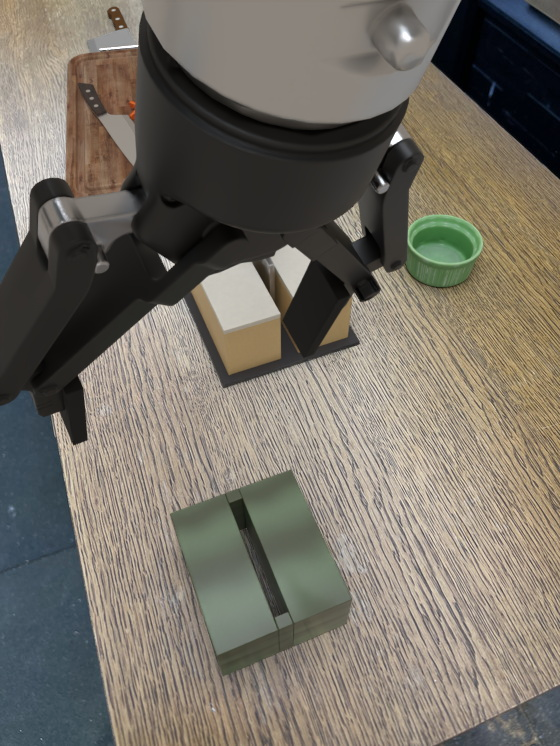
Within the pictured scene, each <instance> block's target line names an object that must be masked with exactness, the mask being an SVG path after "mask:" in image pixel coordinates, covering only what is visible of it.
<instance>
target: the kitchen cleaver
mask: <svg viewBox="0 0 560 746" xmlns="http://www.w3.org/2000/svg"><path fill="white" fill-rule="evenodd" d="M106 13H107V17H108V18H110V19H111V22H112V24H113V27H114V30H113V31H110V32H108V33H105V34H102V35H99V36H96V37H93V38H89V39H87V40H86V44H87V48H88V50H89V53H93V52H100V50H99V48H102V47H113V46H123V45H134V44H138V42H137V41H136V40H135V39H134V37H133V35H132V33H131V32H130V30H129V26H128V25H127V22H126V21H125V19H124V18H125V17H124V16H123V13H122V12H121V9H120V8H119V7H118V6H111V7H109V8H108V9H107V10H106Z"/></svg>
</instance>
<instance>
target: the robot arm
mask: <svg viewBox="0 0 560 746" xmlns="http://www.w3.org/2000/svg"><path fill="white" fill-rule="evenodd" d="M140 2H141V5H142V13H141V16H140V20H139V24H138V41H137V44H138V59H137V79H136V99H135V143H136V161H135V164H134V166H133V168H132V170H131V172H130V173H129V175H128V176H127V177H126V179H125V180H124V182H123V184H122V186H121V189H120V191H118V192H112V193H105V194H98V195H92V196H85V197H79V198H75V197H74V195H73V193H72V191H71V189H70V187H69V184H68V183H67V182H66V181H65V179H63V178H61V177H48V178H44V179H43V178H42V179H41V180H39V181H38V182H36V183H35V184H34V185H33V186H32V187H31V189H30V192H29V205H28V206H29V207H28V208H29V209H28V210H29V211H28V213H29V214H28V225H29V226H28V232H27V234H26V235H25V236H24V239H23V240H22V243H21V244H20V246H19V248H18V250H17V252H16V254H15V255H14V258H13V259H12V261H11V263H10V265H9V267H8V268H7V270H6V273H5V274H4V276H3V278H2V280H1V281H0V407H1V406H5V405H8V404H10V403H11V402H13V401H15V400H16V399H17V398H18V397H19V394H20V393H21V392H22V391H23V392H24V391H26V392H29V395H30V398H31V400H32V403H33V406H34V407H35V410H36V413H37V415H38V416H40V417H42V418H46V417H48V416H51V415H54V414H56V413H57V414H58V413H59V414H60V417H61V420H62V422H63V424H64V427H65V429H66V431H67V434H68V437H69V439H70V442H71V444H72V446H77V445H79V444H81V443H82V444H83V443H85V442H87V441H89V437H88V435H89V434H88V426H87V425H88V424H87V413H86V401H85V389H84V386H83V383H82V381H81V379H80V377H79V375H80V374H81V373H83V371H84V370H85V369H87V368H88V367H89V366H90V365H91V364H92V363H94V362H95V361H96V360H97V359H98V358H99V357H101V355H103V354H104V353H105V352H106V351H107V350H108V349H110V347H112V346H113V345H114V344H115V343H116V342H117V341H118V340H120V339H121V338H122V337H123V336H124V335H126V333H128V332H129V331H130V330H131V329H132V328H133V327H134V326H135V325H136V324H138V323H139V322H140V321H141V320H142V319H143V318H144V317H145V316H146V315H148V314H149V313H150V312H151V311H152V310H154V309H155V308H156V307H157V306H158V305H159V306H166V307H174V306H175V305H177V304H178V303H179V302H180V301H182V300H183V299H184V297H185V296H186V295H187V294H188V293H190V292H191V291H192V290H193V289H194V288H195V287H196V286H198V285H199V284H200V283H201V282H202V281H203V280H204V279H206V278H207V277H208V276H210V275H213V274H216V273H219V272H222V271H224V270H227V269H229V268H231V267H233V266H236V265H238V264H240V263H247V262H254V261H259V260H263V259H266V258H269V257H273V256H274V255H275V253H276V251H277V250H279V249H281V248H283V247H285V246H286V245H289V246H290V247H291V248H294V247H295V248H296V249H298V250H299V251H300V252H301V253H303V254H304V255H305V256H306V257H307V258H309V259H310V260H311V261H310V263H309V265H308V267H307V269H306V272H305V274H304V276H303V278H302V280H301V282H300V284H299V286H298V288H297V291H296V293H295V295H294V297H293V299H292V301H291V303H290V305H289V307H288V309H287V312H286V314H285V316H284V318H283V320H282V321H283V322H284V324H285V326H286V328H287V330H288V331H289V333H290V335H291V337H292V339H293V340H294V342H295V344H296V346H297V348H298V349H299V351H300V353H301V355H302V357H303V358H306V357H308V356H311V355H314V354H315V352H316V351H317V349H318V347H319V346H320V344H321V343H322V341H323V339H324V338H325V336H326V335H327V333H328V331H329V330H330V328H331V326H332V325H333V323H334V322H335V320H336V318H337V317H338V315H339V314H340V312H341V310H342V309H343V308H344V307H345V306H346V305H347V303H348V301H349V299H350V298H351V297H352V298H353V295H355V297H356V298H357V299H358V301H359V302H360V303H365V302H368V301H370V300H373V298H375V297H376V296H378V294H380V292H381V291H382V287H381V286H380V285H379V283H378V281H377V279H376V278H375V276H374V274H373V272H375V271H377V270H379V269H381V268H382V267H383V269H384V271H385V272H386V274H389V273H394V272H395V271H398V270H400V269H401V268H403V267H404V266H405V265H406V261H407V247H408V228H409V209H410V208H409V207H410V189H411V187H412V185H413V183H414V181H415V179H416V176H417V175H418V173H419V170H420V168H421V167H422V165H423V162H424V160H425V155H424V153H423V151H422V150H421V149H420V148H419V146H418V144H417V143H416V142H415V140H414V139H413V137H412V136H411V134H410V132H409V131H408V130H407V129H406V127H405V126H404V124H403V120H404V118H405V116H406V114H407V110H408V107H409V103H410V96H411V95H412V94H413V93H414V92H415V91H416V89H417V88H418V87H419V85H420V83H421V82H422V79H423V77H424V75H425V74H426V71H427V69H428V67H429V66H430V63H431V61H432V59H433V57H434V56H435V53H436V51H437V50H438V47H439V46H440V44H441V41H442V39H443V37H444V35H445V33H446V31H447V29H448V27H449V26H450V24H451V22H452V19H453V17H454V15H455V13H456V11H457V9H458V7H459V5H460V3H461V2H462V0H140ZM356 204H357V205H358V213H359V220H360V228H361V234H362V237H360V238H358V239H356V240H354V241H353V240H352V239H351V238H350V237H349V235H348V234H347V233H346V232H345V231H344V230H343V229H342V228H341V226H340V225H338V223H337V222H335V221H336V220H337V219H339V218H340V217H342V216H343V215H345V214H346V213H348V212H349V211H350V210H351V209H352V208H353V207H354V206H355V205H356ZM161 256H162V257H163V258H164V259H165V260H168V261H169V262H171V264H174V265H172V267H170V268H169V269H168V270H167V268H166V266H165V264H164V262H163V260H162V258H161Z"/></svg>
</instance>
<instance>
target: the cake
mask: <svg viewBox="0 0 560 746" xmlns="http://www.w3.org/2000/svg"><path fill="white" fill-rule="evenodd" d="M270 258H271V259H272V261H273V263H274V277H275V303H274V301H273V299H272V298H271V296H270V294H269V292H268V290H267V289H266V287H265V285H264V283H263V281H262V280H261V278H260V276H259V274H258V272H257V271H256V269H255V267H254V265H253V263H252V262H247V263H240V264H238V265H236V266H233V267H231V268H229V269H227V270H224V271H222V272H219V273H216V274H213V275H210V276H208V277H207V278H206V279H204V280H203V281H202V282H201V283H200V284H199V285H198V286H196V287H195V288H194V289H193V290H192V291H191V292H190V293H188V294H187V295H186V296H185V297H184V298H183V299H184V302H185V304H186V307H187V309H188V311H189V313H190V316H191V317H192V318H191V319H193V322H194V324H195V326H196V329H197V332H198V333H199V336H200V338H201V340H202V343H203V345H204V348H205V350H206V352H207V354H208V356H209V358H210V361H211V363H212V365H213V368H214V371H215V372H216V375H217V377H218V379H219V381H220V384H221V386H222V388H223V389H224V388H228V387H230V386H231V387H232V386H233V385H237V384H240V383H243V382H247V381H250V380H252V379H255V378H259V377H262V376H265V375H268V374H271V373H274V372H278V371H281V370H283V369H286V368H290V367H292V366H296V365H299V364H302V363H305V362H308V361H311V360H315V359H317V358H318V359H319V358H321V357H324V356H326V355H329V354H332V353H336V352H339V351H342V350H345V349H349V348H351V347H355V346H358V345H360V343H361V340H360V339H359V337H358V336H357V334H356V333H355V331H354V329H353V328H352V326H351V325H350V321H351V312H352V304H353V303H352V302H353V296H352V297H351V298H350V299H349V301H348V303H347V305H346V306H345V307H344V308H343V309H342V310H341V312H340V314H339V315H338V317H337V318H336V320H335V322H334V323H333V325H332V326H331V328H330V330H329V331H328V333H327V335H326V336H325V338H324V339H323V341H322V343H321V344H320V346H319V347H318V349H317V351H316V352H315V354H314V355H311V356H308V357H306V358H303V357H302V355H301V353H300V351H299V349H298V348H297V346H296V344H295V342H294V340H293V339H292V337H291V335H290V333H289V331H288V330H287V328H286V326H285V324H284V322H283V321H282V320H283V318H284V316H285V314H286V312H287V309H288V307H289V305H290V303H291V301H292V299H293V297H294V295H295V293H296V291H297V288H298V286H299V284H300V282H301V280H302V278H303V276H304V274H305V272H306V269H307V267H308V265H309V263H310V261H311V260H310V259H309V258H307V257H306V256H305V255H304V254H303V253H301V252H300V251H299V250H298V249H296V248H295V247H294V248H291V247H290V246H289V245H286V246H285V247H283V248H281V249H279V250H277V251H276V253H275V255H274V256H273V257H270Z"/></svg>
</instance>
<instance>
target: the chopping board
mask: <svg viewBox="0 0 560 746" xmlns="http://www.w3.org/2000/svg"><path fill="white" fill-rule="evenodd" d="M99 50H100V52H93V53H90V52H86V53H81V54H78V55H75V56H73V57H71V58H70V59H69V60H68V61H67V65H66V66H67V67H66V68H67V69H66V71H67V72H66V122H65V124H66V125H65V134H66V135H65V136H66V137H65V177H64V178H65V179H64V180H65V181H66V182H67V183H68V184H69V187H70V189H71V191H72V193H73V195H74V197H75V198H79V197H85V196H92V195H98V194H105V193H112V192H118V191H120V189H121V186H122V184H123V182H124V180H125V179H126V177H127V176H128V175H129V173H130V172H131V170H132V168H133V166H134V164H135V161H136V143H135V99H136V79H137V59H138V43H137V44H134V45H123V46H113V47H102V48H99Z"/></svg>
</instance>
